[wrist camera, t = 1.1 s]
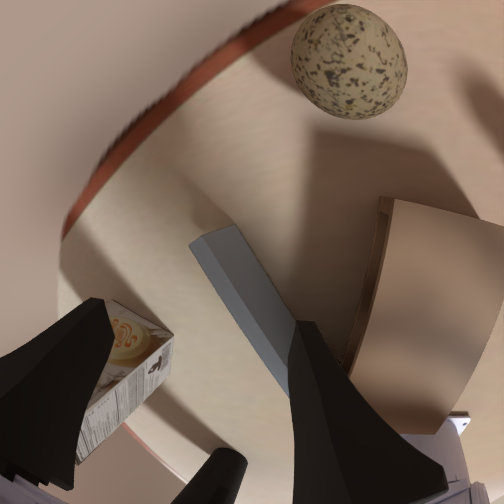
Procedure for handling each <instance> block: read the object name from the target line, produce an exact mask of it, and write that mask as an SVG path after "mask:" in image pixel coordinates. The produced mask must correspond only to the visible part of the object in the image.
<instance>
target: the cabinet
mask: <svg viewBox="0 0 504 504" xmlns="http://www.w3.org/2000/svg"><path fill="white" fill-rule="evenodd" d="M503 300H504V226H500V225H497V224H494V223H491V222H487V221H484V220H480V219H477V218H473V217H470V216H466V215H462V214H459V213H455V212H451V211H447V210H443V209H439V208H435V207H431V206H426V205H422V204H418V203H413V202H408V201H404V200H399V199H394V198H387V197H380V200H379V207H378V213H377V220H376V226H375V232H374V237H373V243H372V248H371V253H370V258H369V263H368V268H367V272H366V277H365V281H364V286H363V290H362V294H361V298H360V302H359V306H358V310H357V314H356V317H355V321H354V325H353V328H352V332H351V335H350V339H349V342H348V345H347V349H346V352H345V355H344V358H343V361H342V364H341V367H342V369H343V370H344V372H345V373H346V375H347V376H348V378H349V379H350V380H351V382H352V383H353V384H354V386H355V387H356V388H357V390H358V391H359V392H360V394H361V395H362V396H363V397H364V399H365V400H366V401H367V402H368V403H369V404H370V406H371V407H372V408H373V409H374V410H375V411H376V412H377V413H378V414H379V415H380V417H381V418H382V419H383V420H384V421H385V422H386V423H387V424H388V425H390V426H391V427H392V428H393V429H394V430H395V431H396V432H397V433H398V434H416V435H435V434H436V433H437V431H438V430H439V429H440V427H441V426H442V424H443V423H444V421H445V420H446V418H447V417H448V415H449V414H450V412H451V410H452V409H453V407H454V406H455V404H456V402H457V401H458V399H459V397H460V396H461V394H462V392H463V390H464V389H465V387H466V385H467V383H468V381H469V379H470V378H471V376H472V374H473V372H474V370H475V368H476V366H477V364H478V362H479V360H480V358H481V355H482V353H483V351H484V349H485V347H486V344H487V342H488V340H489V337H490V335H491V332H492V330H493V327H494V325H495V322H496V320H497V317H498V314H499V311H500V309H501V306H502V303H503Z"/></svg>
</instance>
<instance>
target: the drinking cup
mask: <svg viewBox="0 0 504 504" xmlns="http://www.w3.org/2000/svg"><path fill="white" fill-rule="evenodd" d="M247 465H248V462H247V460H246V458H245V457H244V456H243V455H241V454H240V453H238V452H236V451H234V450H231V449H227V448H218V449H216V450H215V451H214V452H213V453H212V454H211V456H210V457H209V458H208V459H207V461H206V462H205V463H204V464H203V466H202V467H201V468H200V469H199V471H198V472H197V473H196V474H195V476H194V477H193V478H192V479H191V480H190V482H189V483H188V484H187V485H186V486H185V488H184V489H183V490H182V491H181V492H180V493H179V495H178V496H177V497H176V498H175V499H174V500H173V502H172V503H171V504H234V502H235V499H236V496H237V494H238V491H239V488H240V485H241V482H242V479H243V477H244V474H245V471H246V468H247Z"/></svg>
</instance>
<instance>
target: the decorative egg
mask: <svg viewBox="0 0 504 504" xmlns="http://www.w3.org/2000/svg"><path fill="white" fill-rule="evenodd" d="M291 64H292V70H293V73H294V76H295V79H296V82H297V83H298V85H299V87H300V89H301V90H302V92H303V93H304V95H305V96H306V97H307V98H308V99H309V100H310V101H311V102H312V103H313V104H314V105H316V106H317V107H318V108H320V109H321V110H323V111H325V112H327V113H329V114H331V115H333V116H336V117H340V118H344V119H351V120H361V119H368V118H371V117H375V116H377V115H380V114H382V113H383V112H385V111H387V110H388V109H389V108H391V107H392V106H393V105H394V103H395V102H396V101H397V100H398V99H399V97H400V96H401V94H402V92H403V90H404V87H405V84H406V79H407V71H408V69H407V60H406V56H405V52H404V49H403V47H402V44H401V42H400V40H399V39H398V37H397V35H396V34H395V32H394V31H393V30H392V29H391V27H390V26H389V25H388V24H387V23H386V22H385V21H383V20H382V19H381V18H380V17H378V16H377V15H376V14H374V13H372V12H371V11H369V10H367V9H364V8H362V7H359V6H356V5H350V4H336V5H331V6H327V7H325V8H322V9H320V10H318V11H316V12H315V13H313V14H312V15H311V16H309V17H308V18H307V19H306V20H305V21H304V22H303V24H302V25H301V26H300V28H299V30H298V31H297V33H296V35H295V37H294V40H293V44H292V49H291Z"/></svg>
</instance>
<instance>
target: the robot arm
mask: <svg viewBox="0 0 504 504" xmlns="http://www.w3.org/2000/svg"><path fill="white" fill-rule="evenodd" d="M114 340H115V334H114V331H113V328H112V325H111V322H110V319H109V316H108V313H107V309H106V306H105V302H104V299H98V298H92V297H91V298H89V299H88V300H86V301H85V302H83V303H82V304H80V305H79V306H77V307H76V308H75V309H73V310H72V311H71V312H69V313H68V314H67V315H65V316H64V317H63V318H61V319H60V320H58V321H57V322H56V323H55V324H53V325H52V326H50V327H49V328H48V329H46V330H45V331H43V332H42V333H40V334H39V335H38V336H36V337H35V338H33V339H32V340H31V341H29V342H28V343H26V344H24V345H23V346H21V347H20V348H18V349H16V350H14V351H13V352H11V353H9V354H7V355H5V356H3V357H1V358H0V504H68V503H66V502H64V501H62V500H60V499H58V498H56V497H54V496H53V495H51V494H49V493H47V492H45V491H44V490H42V489H40V488H39V487H38V484H39V482H40V483H42V484H44V485H46V486H48V484H49V482H50V483H52V484H54V485H56V486H58V487H60V488H62V489H64V490H66V491H69V490H72V489H73V488H74V468H75V458H76V451H77V445H78V440H79V435H80V430H81V426H82V422H83V419H84V415H85V411H86V408H87V406H88V403H89V401H90V398H91V396H92V394H93V391H94V389H95V387H96V385H97V383H98V380H99V378H100V376H101V374H102V372H103V370H104V367H105V365H106V363H107V361H108V358H109V355H110V353H111V350H112V346H113V343H114ZM288 389H289V398H290V406H291V414H292V423H293V431H294V488H293V504H490V502H489V498H488V494H487V491H486V488H485V485H484V484H483V483H479V482H478V481H476V482H474V483H473V484H471V483H470V479H469V474H468V469H467V465H466V461H465V457H464V453H463V449H462V445H461V441H460V438H459V435H460V434H461V433H462V431H463V430H464V429H465V427H466V426H467V424H468V423H469V422H470V420H471V417H470V416H448V417H447V418H446V420H445V421H444V423H443V424H442V426H441V427H440V429H439V430H438V431H437V433H436V434H435V435H416V434H400V435H399V434H398V433H397V432H396V431H395V430H394V429H393V428H392V427H391V426H390V425H388V424H387V423H386V422H385V421H384V420H383V419H382V418H381V417H380V415H379V414H378V413H377V412H376V411H375V410H374V409H373V408H372V407H371V406H370V404H369V403H368V402H367V401H366V400H365V399H364V397H363V396H362V395H361V394H360V392H359V391H358V390H357V388H356V387H355V386H354V384H353V383H352V382H351V380H350V379H349V378H348V376H347V375H346V373H345V372H344V370H343V369H342V367H341V366H340V364H339V363H338V361H337V360H336V358H335V356H334V355H333V353H332V352H331V350H330V348H329V347H328V345H327V343H326V341H325V340H324V338H323V336H322V334H321V333H320V331H319V329H318V327H317V325H316V324H315V322H314V321H297V322H296V326H295V330H294V334H293V338H292V342H291V346H290V350H289V354H288Z"/></svg>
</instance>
